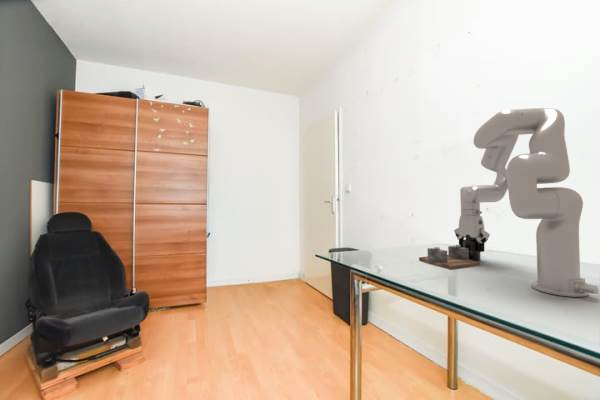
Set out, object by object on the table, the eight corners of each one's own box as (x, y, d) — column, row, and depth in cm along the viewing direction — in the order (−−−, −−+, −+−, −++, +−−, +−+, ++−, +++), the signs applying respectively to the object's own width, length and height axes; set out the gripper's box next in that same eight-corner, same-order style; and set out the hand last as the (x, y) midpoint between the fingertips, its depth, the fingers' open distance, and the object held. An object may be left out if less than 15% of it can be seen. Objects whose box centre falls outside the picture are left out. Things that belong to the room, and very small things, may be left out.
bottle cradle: (480, 265, 114) (479, 247, 114) (451, 269, 109) (450, 251, 109) (445, 257, 131) (445, 242, 131) (419, 260, 126) (418, 244, 126)
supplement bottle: (465, 261, 122) (464, 235, 122) (461, 258, 129) (460, 233, 129) (483, 261, 120) (482, 235, 120) (477, 258, 127) (477, 233, 127)
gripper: (494, 213, 117) (495, 252, 118) (460, 211, 134) (461, 246, 134) (481, 214, 115) (482, 254, 115) (448, 212, 132) (449, 247, 132)
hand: (471, 249), depth 125 cm, fingers open, 9 cm apart
